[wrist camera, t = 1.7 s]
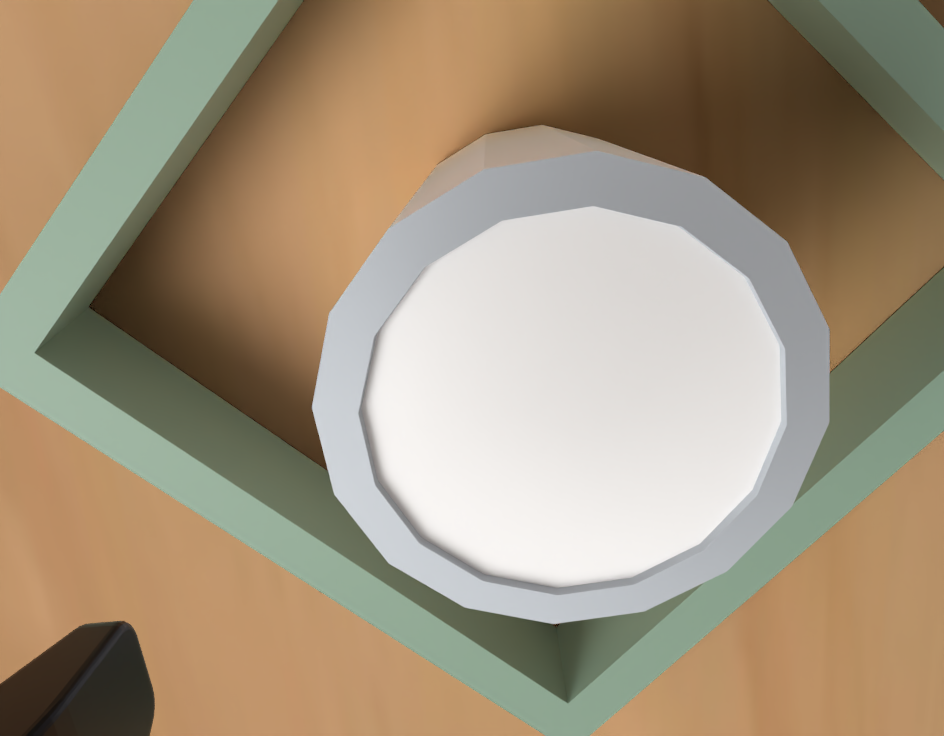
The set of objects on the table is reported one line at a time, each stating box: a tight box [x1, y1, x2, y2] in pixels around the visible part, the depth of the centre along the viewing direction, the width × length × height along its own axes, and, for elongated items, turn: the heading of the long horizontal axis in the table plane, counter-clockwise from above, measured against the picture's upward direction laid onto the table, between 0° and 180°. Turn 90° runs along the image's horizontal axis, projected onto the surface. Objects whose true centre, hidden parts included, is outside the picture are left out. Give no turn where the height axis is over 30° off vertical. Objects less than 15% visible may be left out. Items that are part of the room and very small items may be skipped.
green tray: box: [0, 0, 944, 736], centre depth 17 cm, size 15×15×2 cm
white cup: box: [312, 125, 830, 624], centre depth 15 cm, size 7×7×7 cm
